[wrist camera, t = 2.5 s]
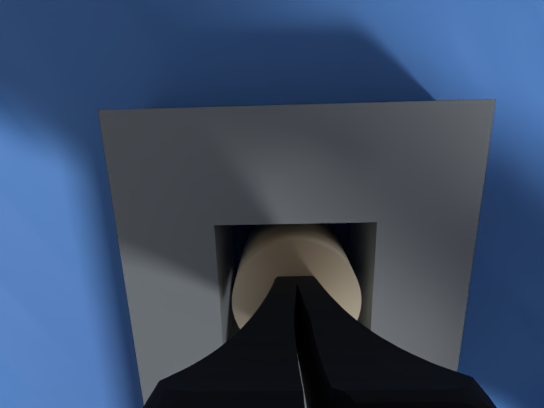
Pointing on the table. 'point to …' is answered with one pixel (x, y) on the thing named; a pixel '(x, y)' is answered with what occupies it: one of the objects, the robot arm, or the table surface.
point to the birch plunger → (293, 266)
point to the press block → (296, 213)
